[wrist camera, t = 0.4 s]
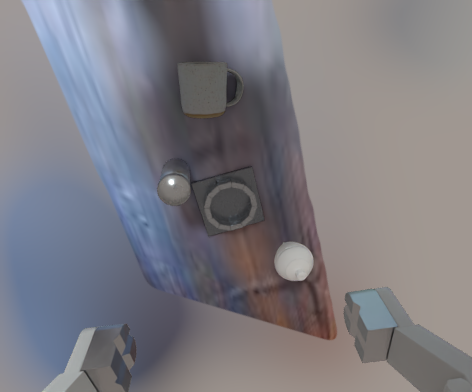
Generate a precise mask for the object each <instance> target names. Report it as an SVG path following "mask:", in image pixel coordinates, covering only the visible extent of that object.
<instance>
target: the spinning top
mask: <svg viewBox="0 0 472 392" xmlns="http://www.w3.org/2000/svg"><path fill="white" fill-rule="evenodd" d="M274 264H275V268H276V271H277V272H278V274H279V275H280V276H281V277H283V278H284V279H287V280H290V281H302V280H304V279H306V277H307V276H308V275H309V273H310V272H311V270H312V267H313V256H312V253H311V252H310V250H309V249H308V248H307V247H306V246H304V245H302V244H300V243H296V242H285V243H284V242H283V244H282V245H281V246H280V247H279V248H278V250H277V252H276V255H275V259H274Z"/></svg>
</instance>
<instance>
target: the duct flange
mask: <svg viewBox="0 0 472 392" xmlns="http://www.w3.org/2000/svg"><path fill="white" fill-rule="evenodd" d="M191 184H192V187H193V190H194V193H195V196H196V199H197V202H198V206H199V209H200V212H201V215H202V218H203V221H204V224H205V227H206V230H207V233H208V236H211V235H215V234H218V233H222V232H225V231H230V230H231V231H232V230H235V229H239V228H242V227H244V226H246V225H250V224H253V223H257V222H260V221H264V216H263V211H262V207H261V203H260V198H259V194H258V190H257V185H256V181H255V176H254V172H253V168H252V166H250V167H246V168H243V169H239V170H236V171H232V172H229V173H225V174H221V175H218V176H214V177H211V178H207V179H203V180H200V181H196V182H193V183H191Z"/></svg>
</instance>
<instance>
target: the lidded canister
mask: <svg viewBox="0 0 472 392" xmlns="http://www.w3.org/2000/svg"><path fill="white" fill-rule="evenodd" d="M157 192H158V196H159V198H160V199H161V200H162V201H163V202H164V203H166V204H168V205H171V206H178V205H181V204H183V203H185V202H186V201H187V200H188V198H189V197H190V194H191V186H190V168H189V166H188V164H187V163H186V162H185V161H184V160H182V159H178V158H173V159H170V160H168V161H167V162H166V163H165V164H164V166H163V170H162V174H161V178H160V181H159V184H158V188H157Z"/></svg>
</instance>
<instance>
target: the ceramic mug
mask: <svg viewBox="0 0 472 392" xmlns="http://www.w3.org/2000/svg"><path fill="white" fill-rule="evenodd" d="M177 67H178V76H179V86H180V95H181V105H182V109H183V112H184V114H185V115H186V116H188V117H191V118H214V117H219V116H221V115H223V114H224V112H225V109H226V107H230V106H233V105H235V104H236V103H238V101H239V100H240V99H241V97H242V94H243V87H244V86H243V80H242V78H241V76H240V75H239V74H238V73H237V72H236V71H234V70H232V69H228V68H227V63H225V62H182V63H178V65H177ZM227 72H230V73H232V74H233V75H234V76H235V77H236V81H237V87H236V93H235V98H234V99H233V100H232V101H230V102H228V103H226V87H227Z"/></svg>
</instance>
